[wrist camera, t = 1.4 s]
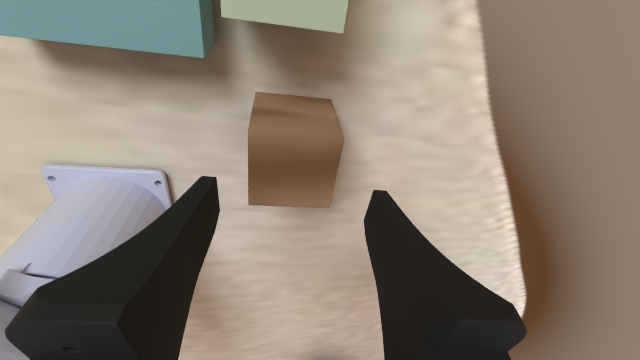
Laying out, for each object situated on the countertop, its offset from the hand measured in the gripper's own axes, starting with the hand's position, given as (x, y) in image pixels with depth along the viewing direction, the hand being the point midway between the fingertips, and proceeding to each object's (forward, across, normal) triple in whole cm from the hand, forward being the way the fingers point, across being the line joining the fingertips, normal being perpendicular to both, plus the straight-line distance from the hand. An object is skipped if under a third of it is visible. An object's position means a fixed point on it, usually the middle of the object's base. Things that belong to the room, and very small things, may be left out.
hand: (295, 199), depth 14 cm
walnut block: (+9, 0, +1) cm, 9 cm away
